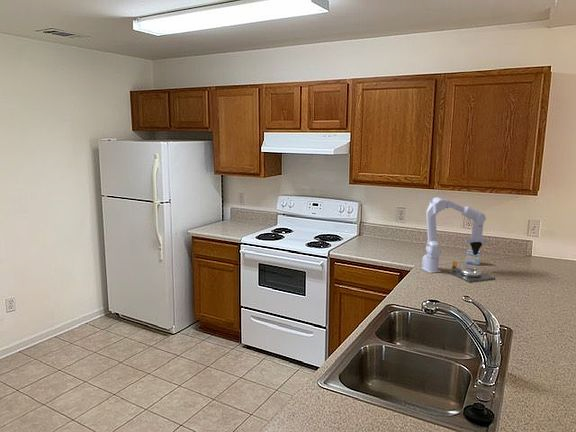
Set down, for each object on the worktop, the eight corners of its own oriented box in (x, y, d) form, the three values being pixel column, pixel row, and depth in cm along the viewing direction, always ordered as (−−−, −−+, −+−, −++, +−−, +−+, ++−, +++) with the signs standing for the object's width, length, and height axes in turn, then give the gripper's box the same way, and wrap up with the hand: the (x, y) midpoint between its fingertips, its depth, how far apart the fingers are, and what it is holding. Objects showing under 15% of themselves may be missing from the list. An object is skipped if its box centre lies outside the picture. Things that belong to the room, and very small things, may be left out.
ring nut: (485, 274, 254) (485, 267, 253) (474, 278, 248) (475, 270, 247) (457, 267, 268) (458, 260, 267) (447, 270, 262) (447, 263, 261)
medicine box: (465, 263, 279) (466, 250, 277) (466, 262, 282) (467, 249, 281) (479, 265, 275) (480, 252, 273) (479, 263, 279) (481, 250, 277)
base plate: (447, 272, 261) (447, 270, 261) (472, 269, 267) (472, 268, 266) (469, 282, 244) (469, 280, 244) (495, 279, 250) (495, 277, 250)
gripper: (483, 230, 265) (481, 251, 268) (462, 231, 262) (460, 253, 264) (491, 232, 259) (489, 255, 261) (469, 233, 255) (467, 256, 258)
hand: (475, 254), depth 262 cm, fingers closed
